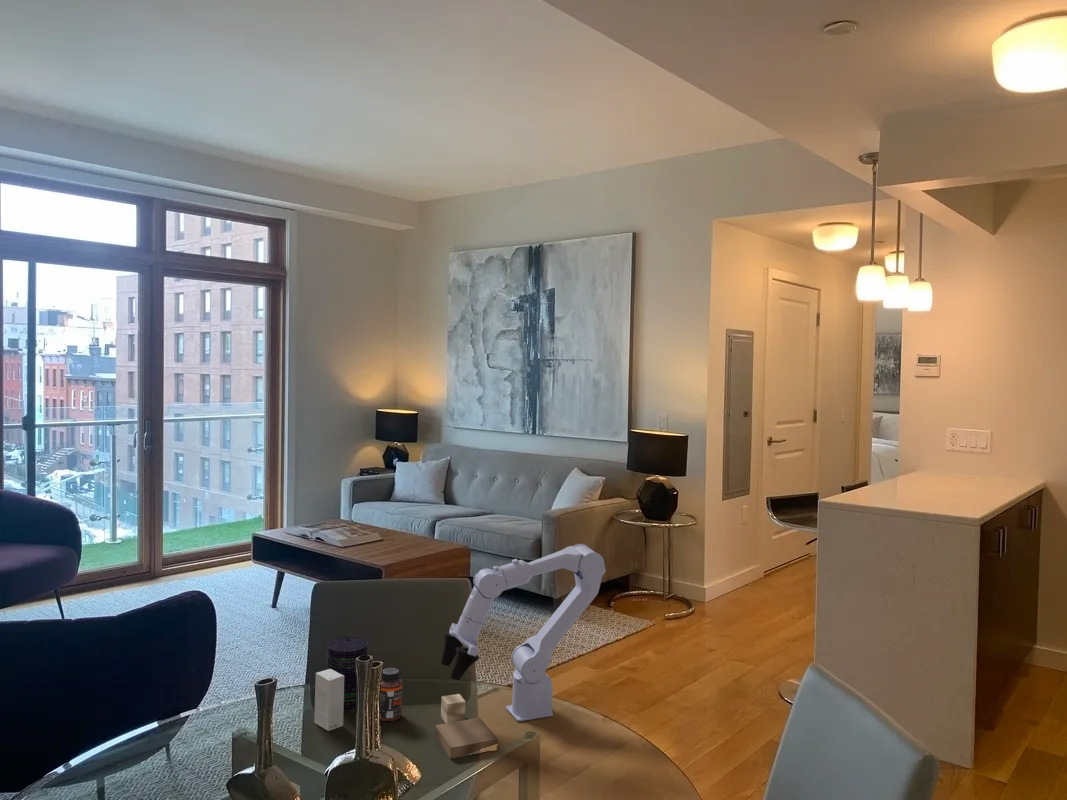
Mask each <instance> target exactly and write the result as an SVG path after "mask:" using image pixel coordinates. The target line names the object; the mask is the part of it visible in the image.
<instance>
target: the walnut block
mask: <svg viewBox="0 0 1067 800" xmlns="http://www.w3.org/2000/svg"><path fill="white" fill-rule="evenodd" d="M434 737H435V738H436V740H437V742H438V743H439V745H440V747H442V749H443V751H444V752H445V753H446V756H447V757H448V759H449V760H452V759H451V758H454V759H456V758H455V757H460V756H463V755H467V754H470V753H473V752H475V751H478V750H480V749H482V748H486V747H489V746H492V745H495V744H499V743H498V741H499V739H498V738H497V736H496V735H495V734H494V732H493V731H492V730H491V729H490V727H488V726H487V724H486V723H485V722H484V720H483V719H482V718H481V717H475V718H470V719H465V720H463V721H458V722H452V723H442V724H441V723H440V724H435V725H434ZM460 758H461V757H460Z"/></svg>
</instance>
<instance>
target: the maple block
mask: <svg viewBox="0 0 1067 800" xmlns="http://www.w3.org/2000/svg"><path fill="white" fill-rule="evenodd" d="M440 699H441V700H440V701H441V703H440V717H441V719H442V721H444V724H446V723H452V722H458V721H463V720H466V700H465V699H464V698H463V696H462V695H461V694H460V693H457V694H449V695H448V694H447V695H443V696H441V698H440Z"/></svg>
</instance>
